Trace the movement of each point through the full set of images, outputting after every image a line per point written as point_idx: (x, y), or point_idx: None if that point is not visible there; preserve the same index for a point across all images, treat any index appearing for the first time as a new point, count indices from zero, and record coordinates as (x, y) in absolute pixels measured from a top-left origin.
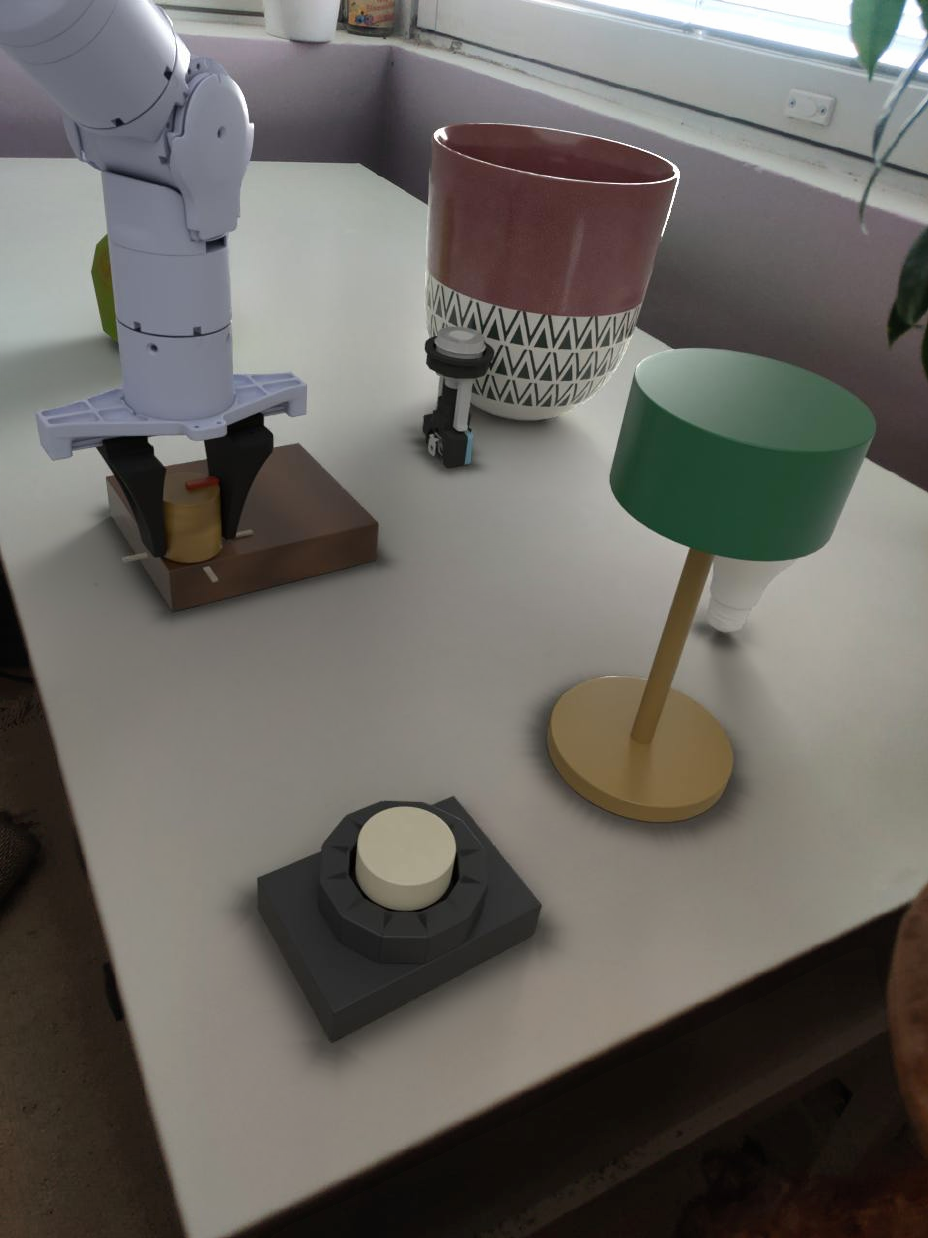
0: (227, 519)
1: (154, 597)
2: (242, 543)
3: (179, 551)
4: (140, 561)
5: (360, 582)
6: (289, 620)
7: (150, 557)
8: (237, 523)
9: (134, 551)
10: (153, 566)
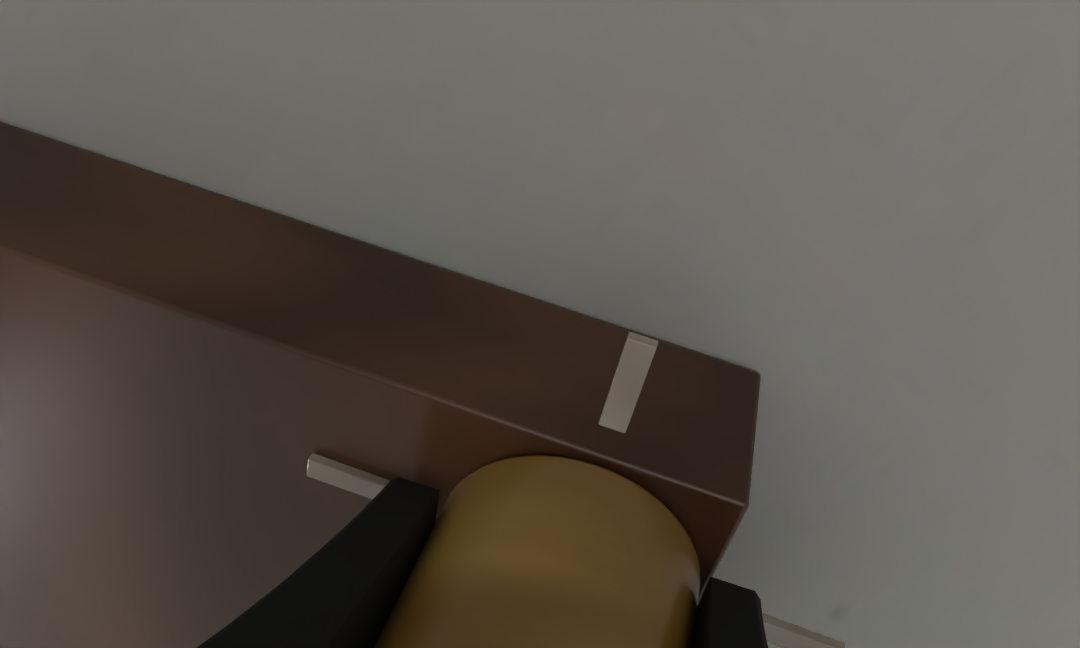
0: (390, 566)
1: None
2: (382, 440)
3: (667, 558)
4: None
5: (74, 46)
6: (436, 43)
7: None
8: (358, 523)
9: None
10: None
